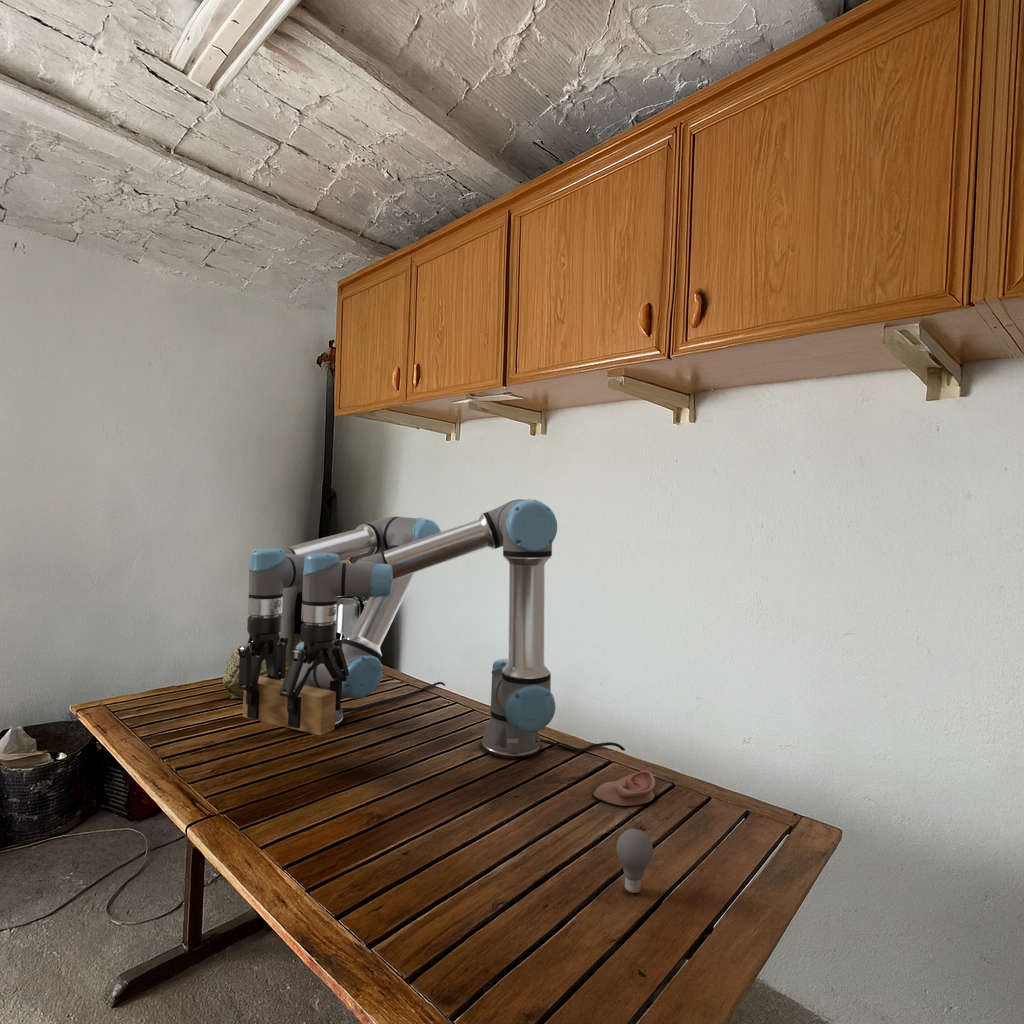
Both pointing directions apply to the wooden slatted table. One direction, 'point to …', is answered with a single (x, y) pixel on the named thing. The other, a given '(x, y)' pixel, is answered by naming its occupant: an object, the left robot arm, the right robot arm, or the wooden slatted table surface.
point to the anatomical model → (628, 790)
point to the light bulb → (634, 857)
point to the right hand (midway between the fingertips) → (315, 717)
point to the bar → (313, 707)
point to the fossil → (237, 675)
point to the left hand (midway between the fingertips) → (261, 714)
